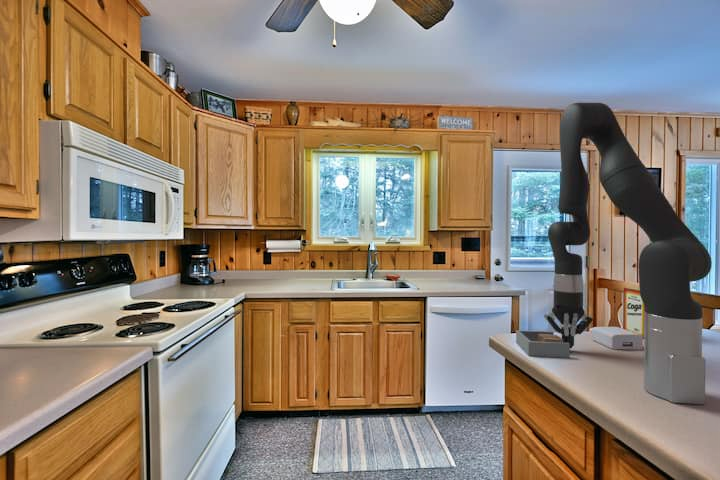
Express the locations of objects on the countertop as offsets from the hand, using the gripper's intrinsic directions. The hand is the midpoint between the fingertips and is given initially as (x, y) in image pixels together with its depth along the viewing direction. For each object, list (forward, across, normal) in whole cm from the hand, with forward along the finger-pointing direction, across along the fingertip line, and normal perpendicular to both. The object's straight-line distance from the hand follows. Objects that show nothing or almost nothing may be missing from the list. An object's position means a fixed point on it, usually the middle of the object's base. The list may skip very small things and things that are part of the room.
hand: (567, 347), depth 101 cm
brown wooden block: (+1, -5, 0) cm, 5 cm away
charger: (+2, +17, +11) cm, 20 cm away
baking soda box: (+1, +32, +20) cm, 38 cm away
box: (+1, -7, 0) cm, 7 cm away
